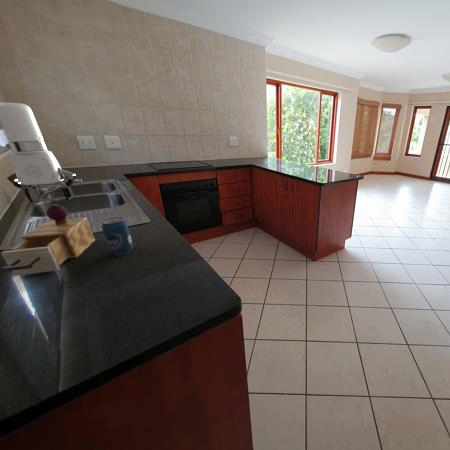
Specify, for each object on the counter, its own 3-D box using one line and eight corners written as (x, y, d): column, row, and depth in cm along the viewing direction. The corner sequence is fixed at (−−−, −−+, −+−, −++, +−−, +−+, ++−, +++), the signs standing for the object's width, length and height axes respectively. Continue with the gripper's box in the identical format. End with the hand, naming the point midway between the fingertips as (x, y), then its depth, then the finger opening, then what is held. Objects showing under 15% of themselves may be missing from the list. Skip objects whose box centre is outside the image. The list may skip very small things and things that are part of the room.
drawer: (47, 280, 67) (35, 256, 64) (-1, 287, 65) (-16, 262, 61) (79, 250, 83) (70, 230, 80) (41, 255, 80) (31, 234, 77)
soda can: (106, 256, 81) (95, 224, 76) (116, 247, 87) (106, 217, 83) (129, 255, 82) (119, 223, 78) (137, 245, 89) (128, 215, 84)
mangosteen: (47, 226, 81) (39, 207, 78) (57, 221, 85) (49, 202, 82) (66, 224, 82) (58, 206, 79) (74, 219, 87) (67, 201, 84)
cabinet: (77, 257, 80) (66, 232, 77) (33, 262, 77) (20, 236, 73) (95, 240, 92) (86, 217, 89) (58, 244, 89) (48, 220, 85)
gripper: (-18, 149, 68) (11, 205, 75) (56, 147, 73) (77, 200, 79) (3, 147, 74) (28, 199, 81) (70, 145, 79) (88, 194, 86)
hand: (52, 200), depth 80 cm, fingers open, 9 cm apart
